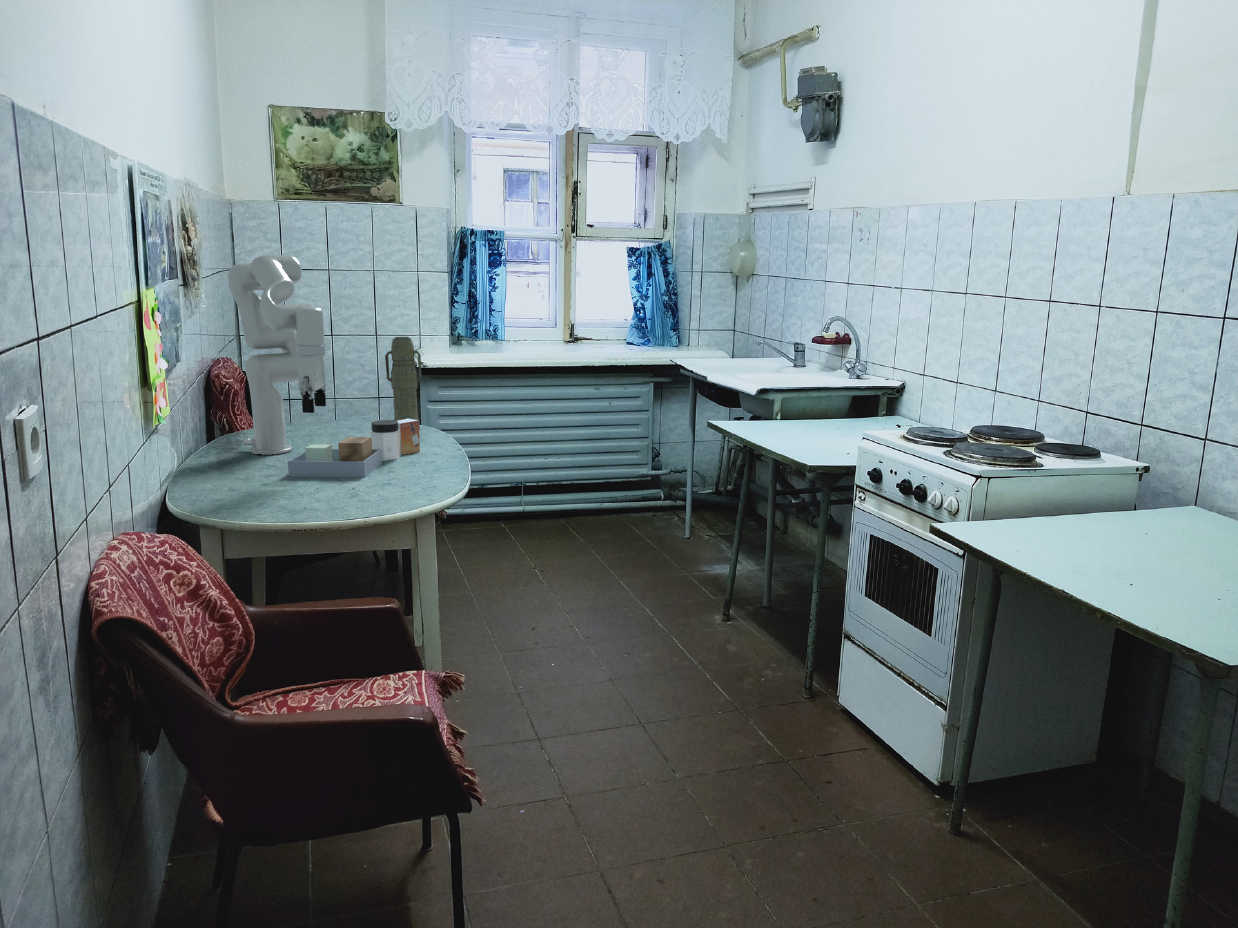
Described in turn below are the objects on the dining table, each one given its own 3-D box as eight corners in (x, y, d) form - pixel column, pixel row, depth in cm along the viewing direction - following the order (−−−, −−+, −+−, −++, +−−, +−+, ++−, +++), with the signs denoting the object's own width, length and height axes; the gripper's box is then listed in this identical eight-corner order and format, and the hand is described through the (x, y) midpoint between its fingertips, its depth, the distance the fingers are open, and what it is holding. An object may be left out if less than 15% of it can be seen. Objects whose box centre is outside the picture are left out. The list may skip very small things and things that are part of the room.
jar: (377, 464, 278) (374, 425, 275) (368, 459, 285) (366, 421, 282) (405, 460, 283) (403, 422, 280) (396, 455, 289) (394, 418, 287)
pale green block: (306, 471, 265) (305, 447, 264) (313, 467, 270) (311, 444, 269) (327, 471, 265) (325, 448, 263) (333, 467, 270) (331, 444, 268)
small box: (401, 455, 290) (399, 423, 287) (389, 453, 293) (388, 421, 291) (420, 451, 296) (419, 420, 294) (409, 449, 299) (407, 418, 297)
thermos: (388, 435, 321) (383, 336, 313) (422, 434, 325) (418, 335, 317) (390, 440, 313) (384, 338, 305) (425, 438, 316) (420, 338, 309)
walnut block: (340, 473, 263) (338, 442, 261) (350, 466, 272) (348, 436, 270) (364, 473, 263) (362, 443, 261) (373, 466, 271) (371, 437, 269)
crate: (289, 478, 259) (287, 461, 258) (310, 465, 276) (309, 448, 275) (365, 479, 259) (364, 461, 258) (382, 466, 276) (381, 449, 274)
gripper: (309, 346, 268) (312, 403, 272) (286, 354, 251) (290, 414, 256) (334, 347, 268) (337, 404, 272) (313, 355, 251) (316, 415, 256)
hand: (314, 409), depth 264 cm, fingers open, 9 cm apart
